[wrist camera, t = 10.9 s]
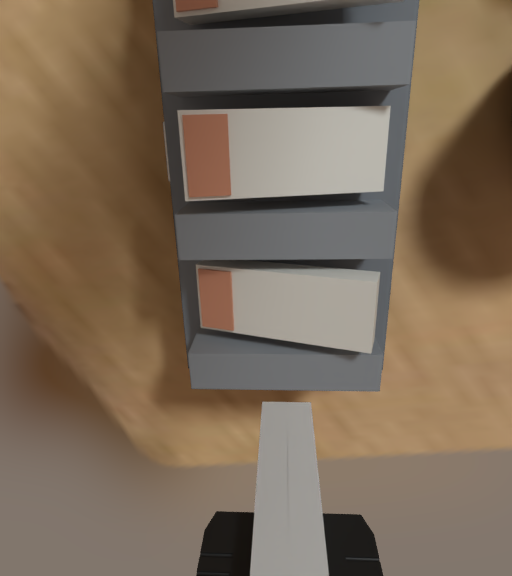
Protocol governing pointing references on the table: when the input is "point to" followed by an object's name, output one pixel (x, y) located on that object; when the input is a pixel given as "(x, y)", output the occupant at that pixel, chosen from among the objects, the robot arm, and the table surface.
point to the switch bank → (287, 209)
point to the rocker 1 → (256, 8)
